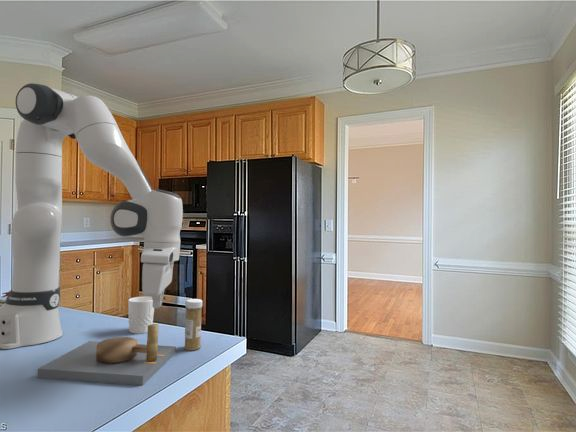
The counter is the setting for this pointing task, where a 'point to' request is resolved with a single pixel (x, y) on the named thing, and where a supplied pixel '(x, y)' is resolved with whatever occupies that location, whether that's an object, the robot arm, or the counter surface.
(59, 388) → the counter surface
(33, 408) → the counter surface
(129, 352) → the dial
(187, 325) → the sprinkles bottle
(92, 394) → the counter surface
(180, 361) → the counter surface
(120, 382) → the stand
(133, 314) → the white cup
